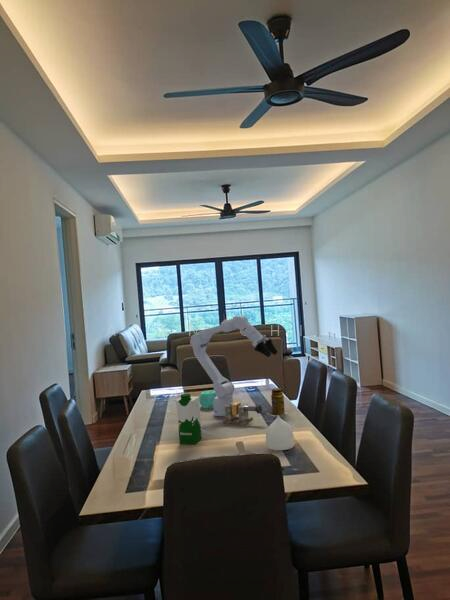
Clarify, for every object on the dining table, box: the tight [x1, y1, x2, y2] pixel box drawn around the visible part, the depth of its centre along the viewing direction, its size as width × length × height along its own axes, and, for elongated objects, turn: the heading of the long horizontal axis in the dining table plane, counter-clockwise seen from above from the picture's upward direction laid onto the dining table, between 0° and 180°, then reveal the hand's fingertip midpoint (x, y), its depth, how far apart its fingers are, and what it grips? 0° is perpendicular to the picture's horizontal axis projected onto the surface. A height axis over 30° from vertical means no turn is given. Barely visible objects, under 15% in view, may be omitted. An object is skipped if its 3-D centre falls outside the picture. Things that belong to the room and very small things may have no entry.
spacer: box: [232, 401, 242, 416], centre depth 206 cm, size 2×5×5 cm, turn 151°
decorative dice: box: [199, 389, 217, 409], centre depth 238 cm, size 8×8×8 cm
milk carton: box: [175, 393, 203, 445], centre depth 182 cm, size 9×9×20 cm
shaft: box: [231, 404, 263, 414], centre depth 204 cm, size 15×4×4 cm, turn 61°
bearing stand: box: [222, 402, 254, 426], centre depth 206 cm, size 10×10×8 cm
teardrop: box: [265, 415, 295, 451], centre depth 170 cm, size 11×11×12 cm
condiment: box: [265, 387, 288, 418], centre depth 214 cm, size 7×8×12 cm
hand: (273, 354), depth 205 cm, fingers open, 7 cm apart
